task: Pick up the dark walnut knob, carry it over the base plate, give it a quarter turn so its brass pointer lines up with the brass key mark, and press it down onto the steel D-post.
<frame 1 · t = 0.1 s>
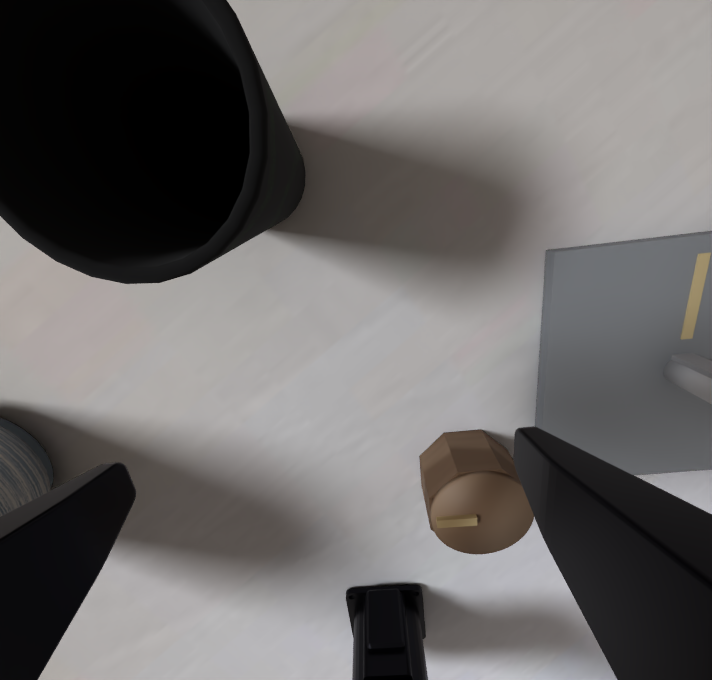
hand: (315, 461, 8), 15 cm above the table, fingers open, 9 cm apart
base plate: (665, 362, 22), on the table
cup: (256, 174, 19), on the table
knob: (463, 467, 26), on the table
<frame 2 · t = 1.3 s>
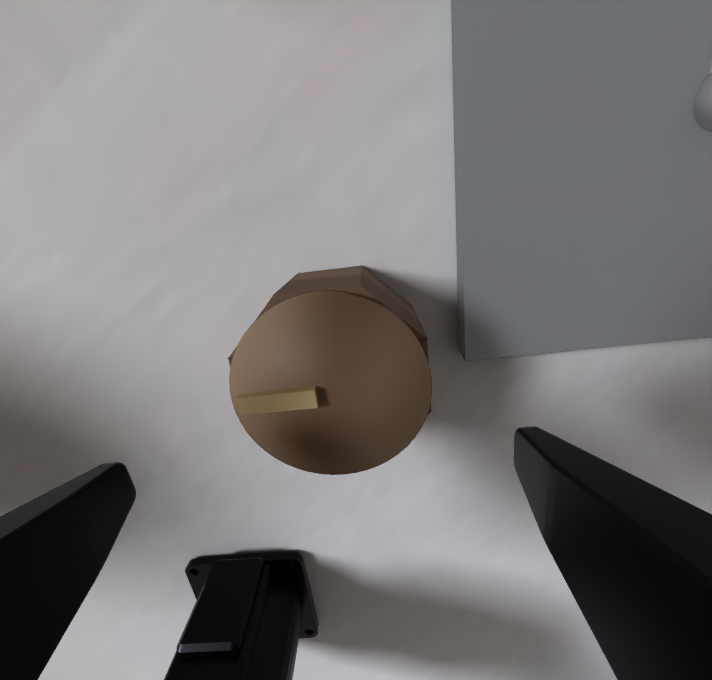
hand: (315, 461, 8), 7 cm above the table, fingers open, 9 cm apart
base plate: (695, 107, 12), on the table
knob: (340, 342, 15), on the table
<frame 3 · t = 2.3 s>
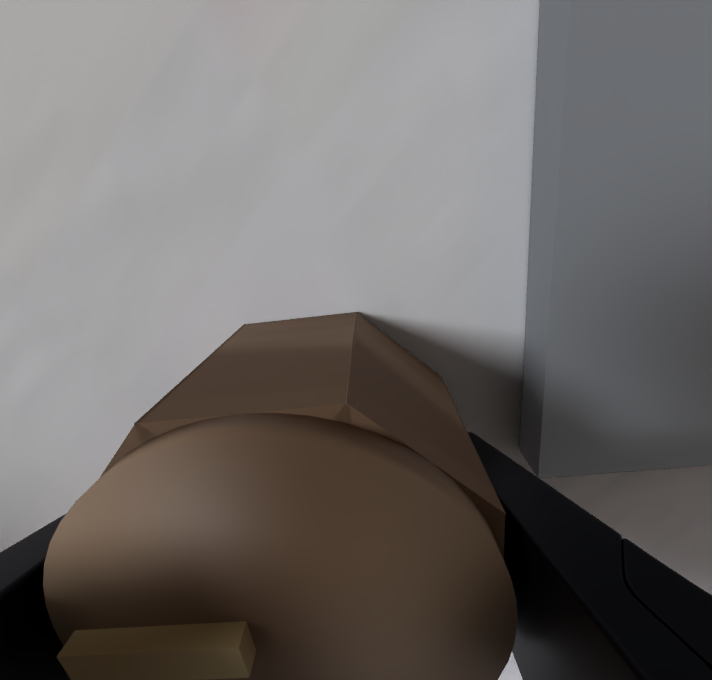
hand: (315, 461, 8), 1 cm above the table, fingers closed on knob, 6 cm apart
knob: (320, 434, 9), on the table, touching gripper
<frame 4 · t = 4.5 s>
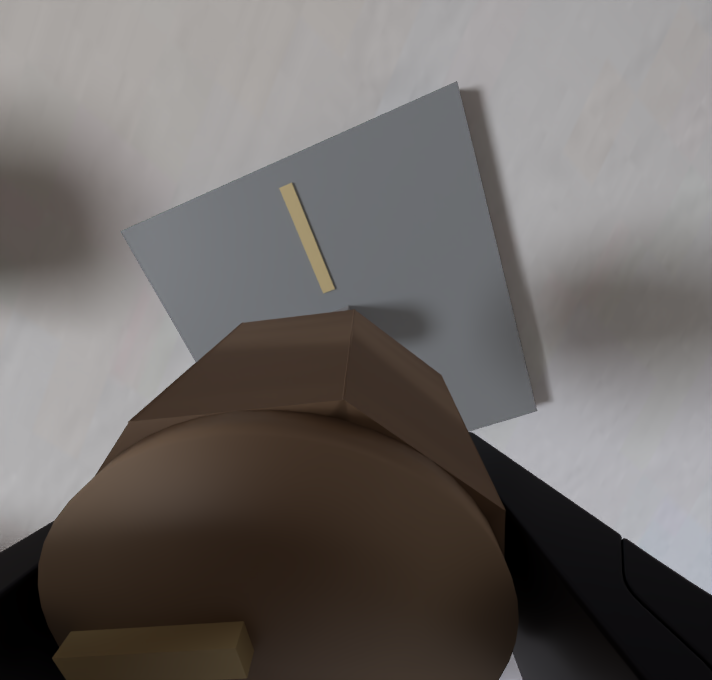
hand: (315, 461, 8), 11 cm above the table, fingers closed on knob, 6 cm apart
base plate: (345, 322, 18), on the table
knob: (320, 433, 9), point 10 cm above the table, touching gripper
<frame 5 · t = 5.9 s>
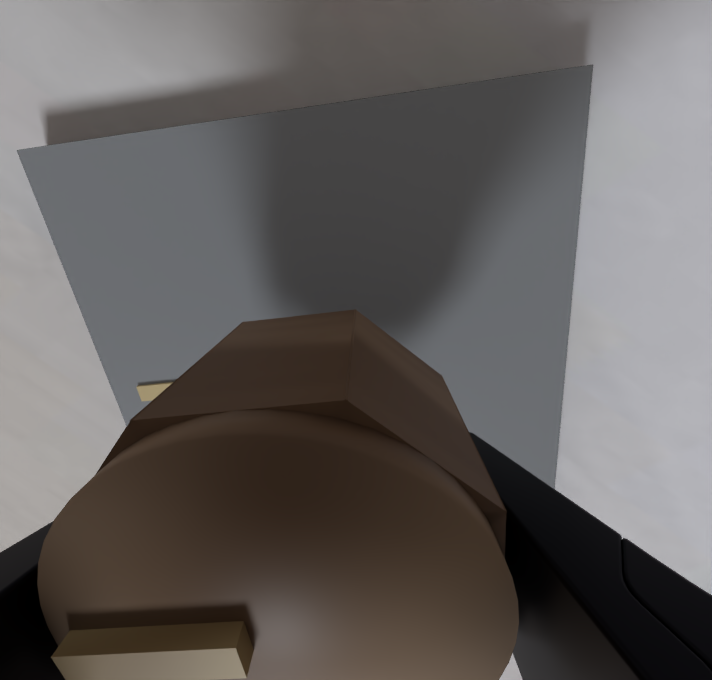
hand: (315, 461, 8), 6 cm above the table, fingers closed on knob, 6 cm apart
base plate: (333, 362, 13), on the table
knob: (320, 432, 9), point 5 cm above the table, touching gripper
when the fingers open (3 cm above the table, at t = 6.9 s): knob stays where it is, resting on base plate.
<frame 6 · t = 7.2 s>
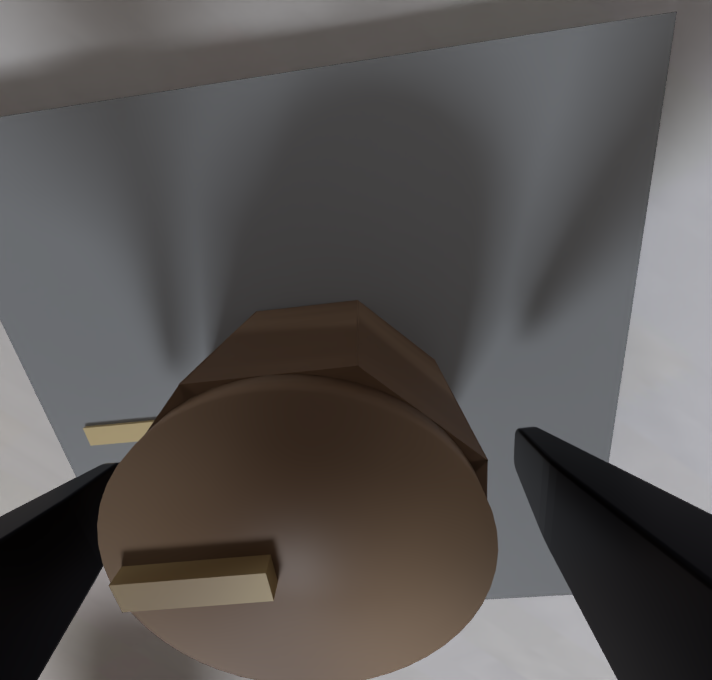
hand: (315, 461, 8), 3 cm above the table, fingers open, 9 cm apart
base plate: (327, 396, 11), on the table
knob: (324, 413, 10), point 1 cm above the table, touching base plate
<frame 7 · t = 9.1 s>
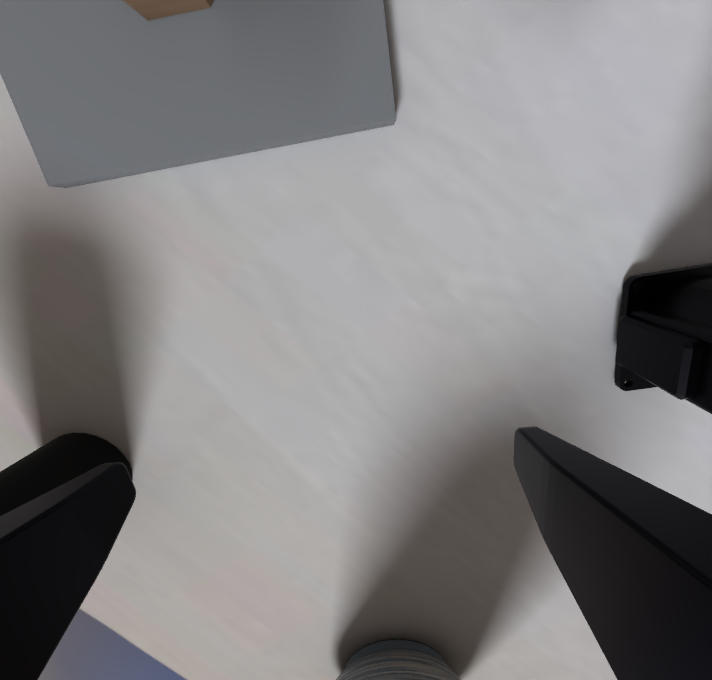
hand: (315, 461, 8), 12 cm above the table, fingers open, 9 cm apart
vase: (395, 668, 30), on the table
cup: (90, 467, 23), on the table
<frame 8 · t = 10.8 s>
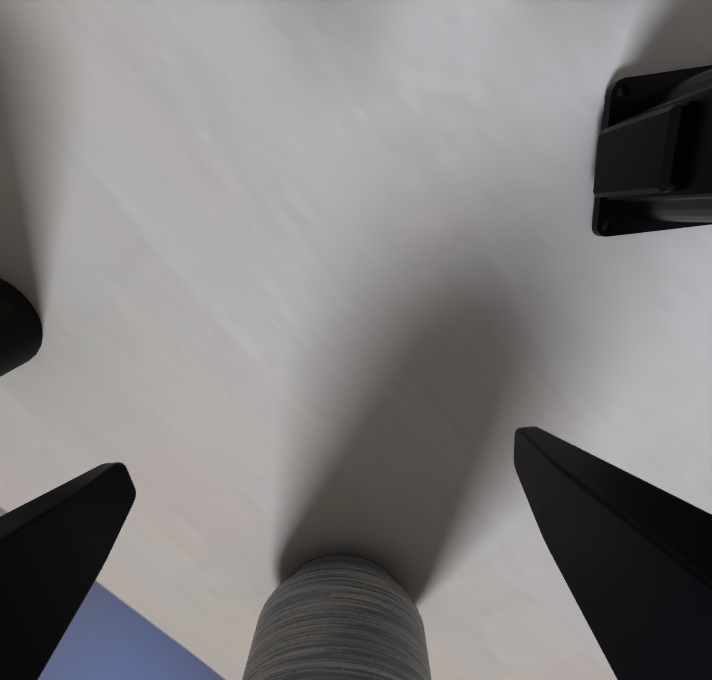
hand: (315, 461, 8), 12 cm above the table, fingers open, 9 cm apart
vase: (343, 592, 27), on the table
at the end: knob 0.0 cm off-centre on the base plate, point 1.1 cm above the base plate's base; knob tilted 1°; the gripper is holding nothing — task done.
